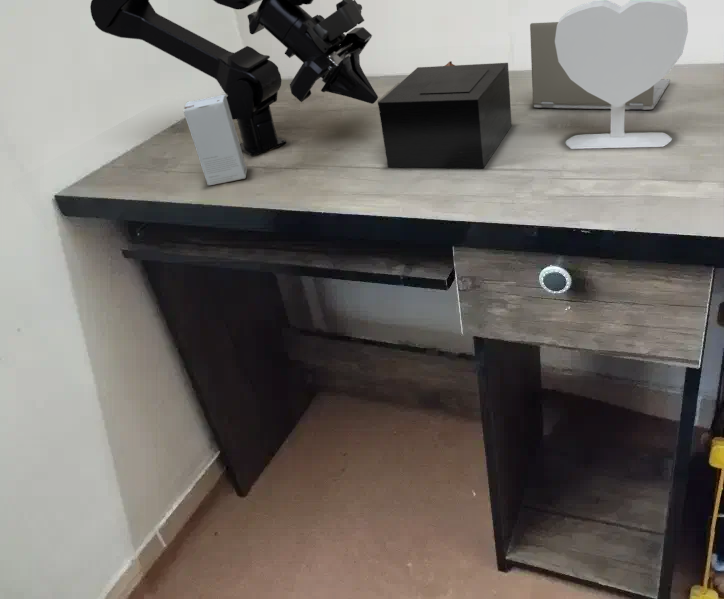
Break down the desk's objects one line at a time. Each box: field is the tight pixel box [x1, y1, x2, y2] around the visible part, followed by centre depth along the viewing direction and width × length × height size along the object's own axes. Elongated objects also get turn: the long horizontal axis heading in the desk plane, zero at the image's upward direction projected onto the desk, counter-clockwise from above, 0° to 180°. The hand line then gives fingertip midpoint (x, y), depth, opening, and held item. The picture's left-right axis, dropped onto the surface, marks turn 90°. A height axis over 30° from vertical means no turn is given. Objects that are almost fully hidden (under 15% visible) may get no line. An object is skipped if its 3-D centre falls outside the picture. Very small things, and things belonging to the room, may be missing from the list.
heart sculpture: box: [555, 0, 689, 150], centre depth 93 cm, size 16×5×18 cm, turn 70°
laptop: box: [529, 21, 671, 111], centre depth 110 cm, size 18×12×13 cm
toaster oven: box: [377, 62, 512, 169], centre depth 104 cm, size 15×16×10 cm
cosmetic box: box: [182, 94, 248, 186], centre depth 107 cm, size 6×4×12 cm
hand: (375, 100), depth 107 cm, fingers closed
